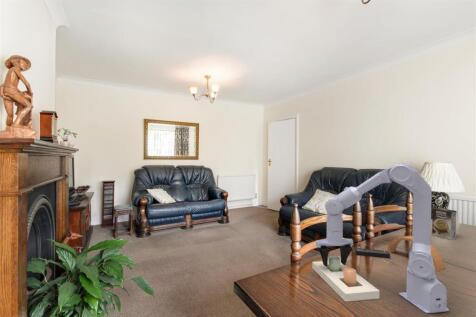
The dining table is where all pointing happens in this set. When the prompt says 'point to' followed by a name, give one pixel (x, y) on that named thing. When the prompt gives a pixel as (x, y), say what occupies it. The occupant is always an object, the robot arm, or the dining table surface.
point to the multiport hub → (371, 253)
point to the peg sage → (334, 263)
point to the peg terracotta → (349, 277)
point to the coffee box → (444, 223)
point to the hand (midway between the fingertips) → (334, 264)
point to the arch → (435, 254)
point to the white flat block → (337, 284)
